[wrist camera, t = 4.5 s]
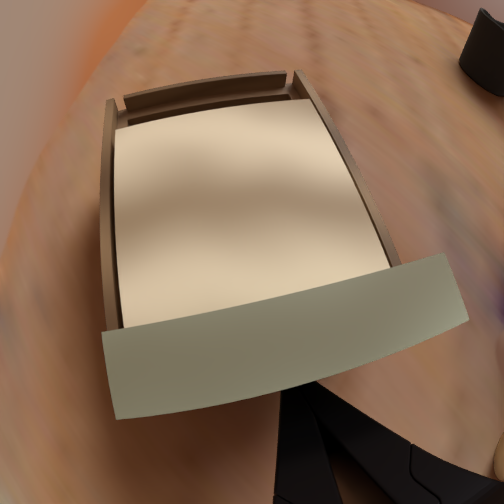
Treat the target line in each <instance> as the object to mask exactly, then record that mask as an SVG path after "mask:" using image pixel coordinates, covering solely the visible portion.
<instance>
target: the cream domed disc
mask: <svg viewBox="0 0 504 504" xmlns="http://www.w3.org/2000/svg"><path fill="white" fill-rule="evenodd" d="M494 471H495V474H496V476H497V478H498V479H499V480H501V481H504V433H503V434H502V436H501V438H500V440H499V442H498V445H497V448H496V451H495V456H494Z"/></svg>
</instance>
